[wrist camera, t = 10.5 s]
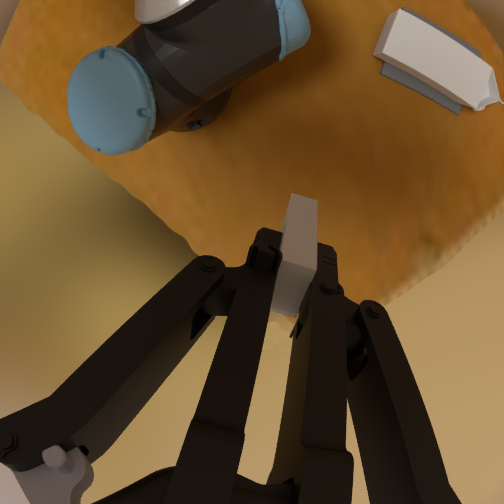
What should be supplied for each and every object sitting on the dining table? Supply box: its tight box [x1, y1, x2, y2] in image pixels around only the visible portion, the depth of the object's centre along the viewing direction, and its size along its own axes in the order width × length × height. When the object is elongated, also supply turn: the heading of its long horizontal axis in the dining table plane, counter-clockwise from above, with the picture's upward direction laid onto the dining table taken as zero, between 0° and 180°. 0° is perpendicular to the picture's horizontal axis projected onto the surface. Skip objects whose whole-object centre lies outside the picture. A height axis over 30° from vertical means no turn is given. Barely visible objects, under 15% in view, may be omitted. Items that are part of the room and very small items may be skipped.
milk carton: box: [373, 9, 504, 111], centre depth 31 cm, size 7×7×19 cm
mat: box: [380, 7, 481, 115], centre depth 34 cm, size 14×12×1 cm
